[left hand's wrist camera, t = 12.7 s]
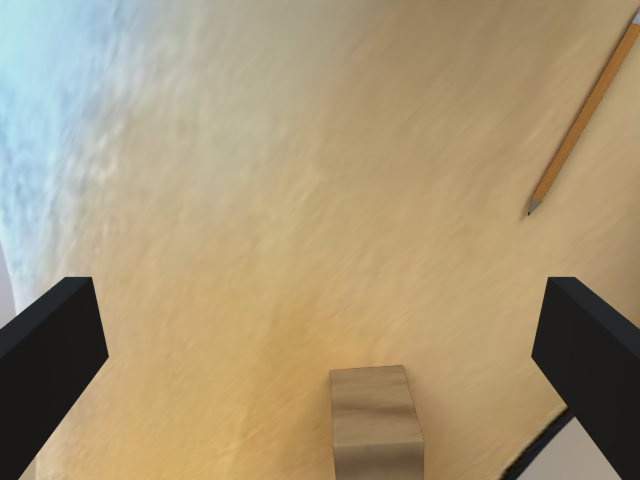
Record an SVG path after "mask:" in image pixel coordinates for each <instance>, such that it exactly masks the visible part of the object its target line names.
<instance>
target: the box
mask: <svg viewBox="0 0 640 480" xmlns="http://www.w3.org/2000/svg"><path fill="white" fill-rule="evenodd" d="M330 381H331V410H332V440H333V454H334V464H335V474H336V480H424V439H423V436H422V432H421V429H420V425H419V422H418V418H417V414H416V411H415V407H414V404H413V400H412V397H411V393H410V389H409V386H408V382H407V379H406V375H405V372H404V368H403V365H398V366H384V367H370V368H356V369H342V370H330Z"/></svg>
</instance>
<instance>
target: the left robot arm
mask: <svg viewBox="0 0 640 480" xmlns="http://www.w3.org/2000/svg"><path fill="white" fill-rule="evenodd" d="M108 357H109V355H108V350H107V346H106V341H105V336H104V332H103V327H102V322H101V318H100V313H99V308H98V303H97V299H96V294H95V289H94V285H93V280H92V277H65V278H63V279H62V280H61V281H60V282H58V283H57V284H56V285H55V286H53V287H52V288H51V289H50V290H48V291H47V292H46V293H45V294H44V295H42V296H41V297H40V298H39V299H37V300H36V301H35V302H34V303H32V304H31V305H30V306H29V307H27V308H26V309H25V310H24V311H22V312H21V313H20V314H19V315H18V316H16V317H15V318H14V319H13V320H11V321H10V322H9V323H8V324H6V325H5V326H4V327H3V328H1V329H0V480H18V479H19V478H20V476H21V475H22V474H23V472H24V471H25V470H26V468H27V467H28V466H29V464H30V463H31V462H32V460H33V459H34V457H35V456H36V455H37V453H38V452H39V451H40V449H41V448H42V447H43V445H44V444H45V443H46V441H47V440H48V439H49V437H50V436H51V434H52V433H53V432H54V430H55V429H56V428H57V426H58V425H59V424H60V422H61V421H62V420H63V418H64V417H65V416H66V414H67V413H68V411H69V410H70V409H71V407H72V406H73V405H74V403H75V402H76V401H77V399H78V398H79V397H80V395H81V394H82V393H83V391H84V390H85V388H86V387H87V386H88V384H89V383H90V382H91V380H92V379H93V378H94V376H95V375H96V374H97V372H98V371H99V370H100V368H101V367H102V365H103V364H104V363H105V361H106V360H107V359H108ZM531 357H532V359H533V360H534V361H535V363H536V364H537V365H538V367H539V368H540V370H541V371H542V372H543V374H544V375H545V376H546V378H547V379H548V380H549V382H550V383H551V384H552V386H553V387H554V388H555V390H556V391H557V393H558V394H559V395H560V397H561V398H562V399H563V401H564V402H565V403H566V405H567V406H568V407H569V409H570V410H571V411H572V413H573V414H574V416H575V417H576V418H577V420H578V421H579V422H580V424H581V425H582V426H583V428H584V429H585V430H586V432H587V433H588V434H589V436H590V437H591V439H592V440H593V441H594V443H595V444H596V445H597V447H598V448H599V449H600V451H601V452H602V453H603V455H604V456H605V457H606V459H607V460H608V462H609V463H610V464H611V466H612V467H613V468H614V470H615V471H616V472H617V474H618V475H619V476H620V478H621V479H622V480H640V329H639V328H637V327H636V326H635V325H634V324H632V323H631V322H630V321H629V320H627V319H626V318H625V317H624V316H622V315H621V314H620V313H619V312H618V311H616V310H615V309H614V308H613V307H611V306H610V305H609V304H608V303H606V302H605V301H604V300H603V299H601V298H600V297H599V296H598V295H596V294H595V293H594V292H593V291H592V290H590V289H589V288H588V287H587V286H585V285H584V284H583V283H582V282H580V281H579V280H578V279H577V278H575V277H548V280H547V285H546V289H545V294H544V299H543V303H542V308H541V313H540V317H539V322H538V327H537V332H536V336H535V341H534V346H533V350H532V355H531Z"/></svg>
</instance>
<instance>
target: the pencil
mask: <svg viewBox="0 0 640 480" xmlns="http://www.w3.org/2000/svg"><path fill="white" fill-rule="evenodd" d="M639 33H640V9H639V10H638V12H637V15H636V16H635V18H634V20H633V21H632V23H631V25H630V27H629V29H628V31H627V32H626V34H625V36H624V38H623V39H622V41H621V43H620V45H619V47H618V48H617V50H616V52H615V54H614V55H613V57H612V59H611V61H610V62H609V64H608V66H607V68H606V69H605V71H604V73H603V75H602V76H601V78H600V80H599V82H598V83H597V85H596V87H595V89H594V90H593V92H592V94H591V96H590V97H589V99H588V101H587V103H586V104H585V106H584V108H583V110H582V111H581V113H580V115H579V117H578V118H577V120H576V122H575V124H574V125H573V127H572V129H571V131H570V133H569V134H568V136H567V138H566V140H565V141H564V143H563V145H562V147H561V148H560V150H559V152H558V154H557V155H556V157H555V159H554V161H553V162H552V164H551V166H550V168H549V169H548V171H547V173H546V175H545V176H544V178H543V180H542V182H541V183H540V185H539V187H538V189H537V190H536V192H535V194H534V196H533V197H532V200H531V204H530V208H529V212H528V215H527V216H529V214H530V213H531V212H532V211H533V210H534V209H535V208H536V207H537V206H538V205H539V204H540V203H541V202H542V200H543V199H544V197H545V195H546V194H547V192H548V190H549V188H550V187H551V185H552V183H553V181H554V180H555V178H556V176H557V175H558V173H559V171H560V169H561V168H562V166H563V164H564V162H565V161H566V159H567V157H568V156H569V154H570V152H571V150H572V149H573V147H574V145H575V144H576V142H577V140H578V138H579V137H580V135H581V133H582V131H583V130H584V128H585V126H586V125H587V123H588V121H589V119H590V118H591V116H592V114H593V112H594V111H595V109H596V107H597V106H598V104H599V102H600V100H601V99H602V97H603V95H604V94H605V92H606V90H607V88H608V87H609V85H610V83H611V81H612V80H613V78H614V76H615V75H616V73H617V71H618V69H619V68H620V66H621V64H622V62H623V61H624V59H625V57H626V56H627V54H628V52H629V50H630V49H631V47H632V45H633V44H634V42H635V40H636V38H637V37H638V35H639Z"/></svg>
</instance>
